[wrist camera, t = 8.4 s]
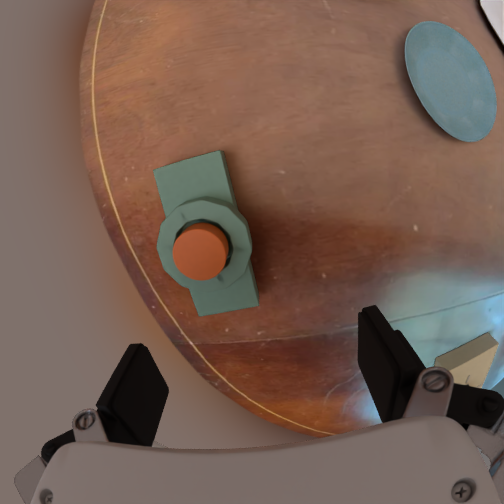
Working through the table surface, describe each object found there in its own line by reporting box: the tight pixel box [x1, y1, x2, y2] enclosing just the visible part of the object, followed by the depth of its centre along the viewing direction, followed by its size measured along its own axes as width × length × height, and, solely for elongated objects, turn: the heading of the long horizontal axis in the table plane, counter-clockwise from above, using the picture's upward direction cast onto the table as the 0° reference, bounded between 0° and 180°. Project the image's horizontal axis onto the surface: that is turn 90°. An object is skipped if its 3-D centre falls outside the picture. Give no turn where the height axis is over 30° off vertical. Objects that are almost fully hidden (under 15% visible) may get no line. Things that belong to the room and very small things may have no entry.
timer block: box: [153, 150, 259, 316], centre depth 20 cm, size 12×6×4 cm, turn 13°
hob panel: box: [434, 332, 499, 388], centre depth 27 cm, size 13×10×3 cm
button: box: [173, 223, 229, 281], centre depth 18 cm, size 3×3×2 cm
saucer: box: [405, 21, 497, 142], centre depth 16 cm, size 12×12×2 cm
